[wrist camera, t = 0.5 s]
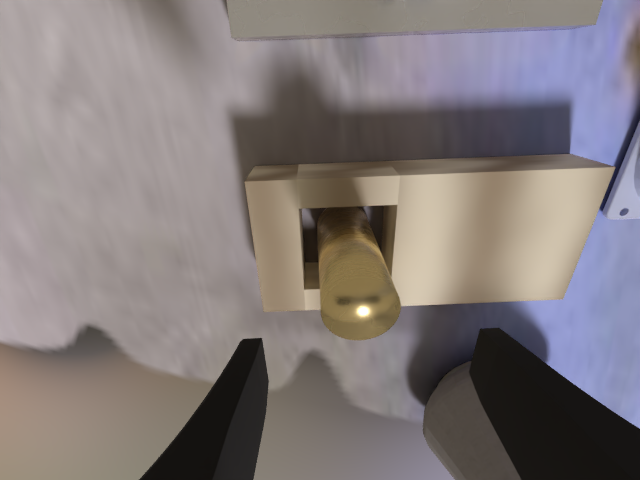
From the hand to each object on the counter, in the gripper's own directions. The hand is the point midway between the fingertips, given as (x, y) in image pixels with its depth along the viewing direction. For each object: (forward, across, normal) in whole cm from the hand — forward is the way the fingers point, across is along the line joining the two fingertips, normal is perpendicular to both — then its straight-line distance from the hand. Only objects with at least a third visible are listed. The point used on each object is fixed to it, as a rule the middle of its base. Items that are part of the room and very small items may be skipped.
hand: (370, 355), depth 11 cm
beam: (+10, -4, 0) cm, 11 cm away
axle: (+10, 0, 0) cm, 10 cm away
